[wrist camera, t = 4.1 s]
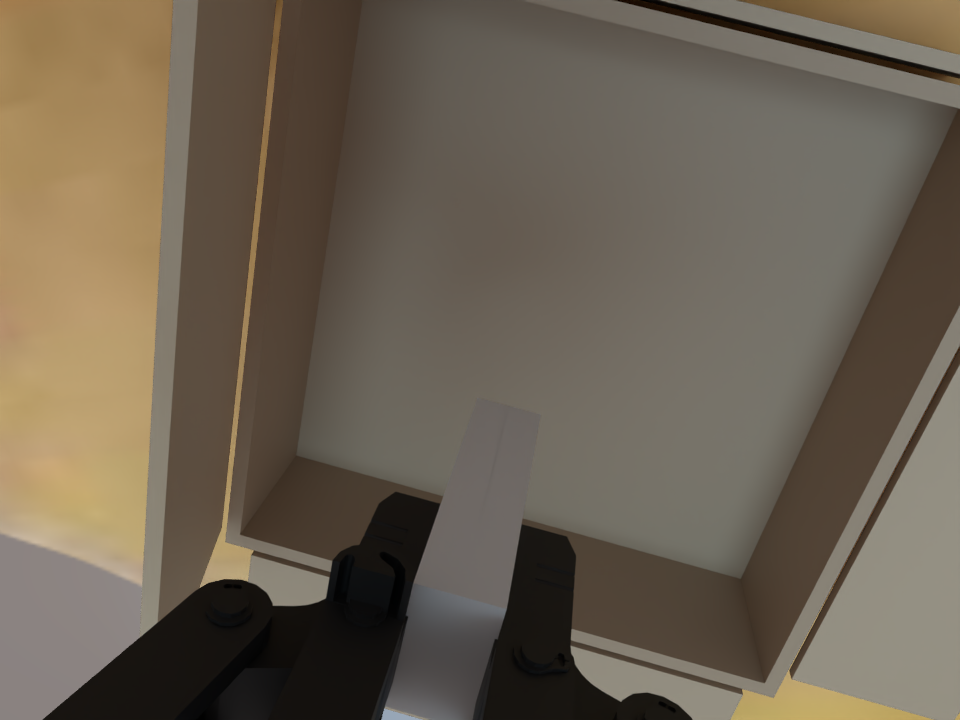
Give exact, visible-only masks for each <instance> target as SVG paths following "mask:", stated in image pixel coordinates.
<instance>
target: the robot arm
mask: <svg viewBox="0 0 960 720" xmlns="http://www.w3.org/2000/svg"><path fill="white" fill-rule="evenodd" d="M539 421H540V414H536V413H533V412H529V411H525V410H521V409H518V408H514V407H510V406H506V405H503V404H499V403H495V402H491V401H488V400H484V399H480V398H477V400H476V403H475V406H474V409H473V412H472V415H471V418H470V421H469V423H468V426H467V429H466V432H465V435H464V438H463V441H462V444H461V447H460V449H459V452H458V455H457V458H456V461H455V464H454V467H453V470H452V473H451V475H450V478H449V481H448V484H447V487H446V490H445V493H444V496H443V499H442V502H441V504H440V503H436V502H432V501H429V500H425V499H422V498H418V497H414V496H411V495H407V494H403V493H400V492H394V493H393V494H391V495H390V496H388V497H387V498H386V499H384V500H383V501H381V502H380V503H379V504H378V506H377V508H376V511H375V513H374V515H373V517H372V519H371V522H370V523H369V525H368V527H367V530H366V532H365V535H364V536H363V538H362V540H361V542H360V544H359V545H353V546H351V547H349V548H346V549H344V550H342V551H340V552H339V553H338V555H337V556H336V557H335V558H334V559H333V560H332V566H331V572H330V577H329V583H328V589H327V595H326V599H323V600H321V601H319V602H317V603H313V604H309V605H301V606H273V603H272V601H271V599H270V597H269V595H268V594H267V592H265V591H264V590H263V589H261V588H260V587H259V586H257V585H256V584H253V583H250V582H247V581H243V580H232V579H224V580H219V581H215V582H211V583H208V584H206V585H204V586H203V587H201V588H199V589H197V590H196V591H194V592H193V593H192V594H191V595H190V596H188V597H187V598H186V599H185V600H184V601H182V602H181V603H180V604H179V605H178V606H177V607H175V608H174V609H173V610H172V611H171V612H169V613H168V614H167V615H166V616H165V617H164V618H162V619H161V620H160V621H159V622H158V623H156V624H155V625H154V626H153V627H152V628H151V629H149V630H148V631H147V632H146V633H145V634H143V635H142V636H141V637H140V638H139V639H138V640H137V641H135V642H134V643H133V644H132V645H130V646H129V647H128V648H127V649H126V650H125V651H123V652H122V653H121V654H120V655H119V656H117V657H116V658H115V659H114V660H113V661H112V662H110V663H109V664H108V665H107V666H106V667H104V668H103V669H102V670H101V671H100V672H99V673H97V674H96V675H95V676H94V677H92V678H91V679H90V680H89V681H88V682H87V683H85V684H84V685H83V686H82V687H81V688H79V689H78V690H77V691H76V692H75V693H74V694H72V695H71V696H70V697H69V698H68V699H66V700H65V701H64V702H63V703H62V704H60V705H59V706H58V707H57V708H56V709H55V710H53V711H52V712H51V713H50V714H49V715H48V716H46V717H45V718H44V719H43V720H381V719H382V714H383V711H384V708H385V707H389V708H392V709H395V710H399V711H402V712H406V713H409V714H413V715H416V716H420V717H423V718H427V719H430V720H693V719H692V718H691V716H689V715H688V714H687V713H686V712H685V711H684V710H683V709H682V708H681V707H680V706H679V705H678V704H676V703H674V702H672V701H670V700H669V699H667V698H665V697H663V696H660V695H656V694H652V693H648V692H646V693H635V694H632V695H630V696H628V697H626V698H625V699H623V700H622V702H620V701H619V700H617V699H615V698H613V697H612V696H610V695H608V694H606V693H605V692H603V691H601V690H600V689H598V688H597V687H596V686H594V685H593V684H591V683H590V682H589V681H588V680H587V679H586V678H585V677H584V676H583V675H582V674H581V672H580V671H579V669H578V668H577V666H576V665H575V661H574V657H573V655H572V654H571V630H572V614H573V599H574V592H573V591H574V583H575V577H574V576H575V567H576V554H575V552H574V550H573V548H572V546H571V544H570V542H569V539H568V537H567V536H563V535H560V534H556V533H552V532H549V531H545V530H541V529H538V528H534V527H530V526H527V525H523V524H522V519H523V513H524V507H525V501H526V496H527V490H528V484H529V478H530V473H531V467H532V461H533V455H534V450H535V444H536V438H537V432H538V427H539Z"/></svg>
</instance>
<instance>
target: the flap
mask: <svg viewBox="0 0 960 720" xmlns="http://www.w3.org/2000/svg"><path fill="white" fill-rule="evenodd" d="M275 8H276V0H173V17H172V36H171V55H170V74H169V92H168V111H167V130H166V149H165V168H164V187H163V206H162V224H161V243H160V262H159V281H158V300H157V319H156V338H155V357H154V375H153V394H152V413H151V432H150V451H149V470H148V489H147V507H146V526H145V545H144V564H143V583H142V602H141V622H140V637H141V636H142V635H143V634H145V633H146V632H147V631H148V630H149V629H151V628H152V627H153V626H154V625H155V624H156V623H158V622H159V621H160V620H161V619H162V618H164V617H165V616H166V615H167V614H168V613H169V612H171V611H172V610H173V609H174V608H175V607H177V606H178V605H179V604H180V603H181V602H182V601H184V600H185V599H186V598H187V597H188V596H190V595H191V594H192V593H193V592H194V591H196V590H197V589H199V587H200V584H201V582H202V579H203V576H204V574H205V571H206V568H207V566H208V563H209V560H210V557H211V555H212V552H213V549H214V547H215V544H216V541H217V539H218V536H219V533H220V531H221V528H222V520H223V511H224V501H225V491H226V482H227V472H228V462H229V453H230V443H231V433H232V424H233V414H234V404H235V395H236V385H237V375H238V366H239V356H240V346H241V337H242V327H243V317H244V308H245V298H246V288H247V279H248V269H249V259H250V250H251V240H252V230H253V221H254V211H255V201H256V192H257V182H258V172H259V163H260V153H261V143H262V134H263V124H264V114H265V105H266V95H267V85H268V76H269V66H270V56H271V47H272V37H273V27H274V18H275Z"/></svg>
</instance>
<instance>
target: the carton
mask: <svg viewBox="0 0 960 720" xmlns="http://www.w3.org/2000/svg"><path fill="white" fill-rule="evenodd" d="M642 1H646V2H650V3H654V4H658V5H662V6H666V7H670V8H675V9H679V10H683V11H687V12H691V13H695V14H699V15H703V16H707V17H711V18H715V19H719V20H723V21H727V22H731V23H736V24H740V25H744V26H748V27H752V28H756V29H760V30H764V31H768V32H772V33H776V34H780V35H784V36H788V37H792V38H797V39H801V40H805V41H809V42H813V43H817V44H821V45H825V46H829V47H833V48H837V49H841V50H845V51H849V52H853V53H858V54H862V55H866V56H870V57H874V58H878V59H882V60H886V61H890V62H894V63H898V64H902V65H906V66H910V67H914V68H919V69H923V70H927V71H931V72H935V73H939V74H943V75H947V76H951V77H955V78H960V55H958V54H954V53H950V52H946V51H942V50H938V49H934V48H930V47H925V46H921V45H917V44H913V43H909V42H905V41H901V40H897V39H893V38H889V37H885V36H880V35H876V34H872V33H868V32H864V31H860V30H856V29H852V28H848V27H844V26H840V25H835V24H831V23H827V22H823V21H819V20H815V19H811V18H807V17H803V16H799V15H795V14H790V13H786V12H782V11H778V10H774V9H770V8H766V7H762V6H758V5H754V4H750V3H745V2H741V1H737V0H642ZM959 346H960V85H956V84H952V83H948V82H944V81H940V80H936V79H932V78H928V77H924V76H920V75H916V74H912V73H907V72H903V71H899V70H895V69H891V68H887V67H883V66H879V65H875V64H871V63H867V62H863V61H859V60H855V59H851V58H847V57H842V56H838V55H834V54H830V53H826V52H822V51H818V50H814V49H810V48H806V47H802V46H798V45H794V44H790V43H786V42H782V41H778V40H773V39H769V38H765V37H761V36H757V35H753V34H749V33H745V32H741V31H737V30H733V29H729V28H725V27H721V26H717V25H713V24H708V23H704V22H700V21H696V20H692V19H688V18H684V17H680V16H676V15H672V14H668V13H664V12H660V11H656V10H652V9H648V8H644V7H639V6H635V5H631V4H627V3H623V2H619V1H615V0H283V8H282V18H281V27H280V36H279V46H278V55H277V64H276V74H275V83H274V92H273V102H272V111H271V121H270V130H269V139H268V149H267V158H266V167H265V177H264V186H263V195H262V205H261V214H260V223H259V233H258V242H257V251H256V261H255V270H254V279H253V289H252V298H251V308H250V317H249V326H248V336H247V345H246V354H245V364H244V373H243V382H242V392H241V401H240V410H239V420H238V429H237V438H236V448H235V457H234V466H233V476H232V485H231V495H230V504H229V513H228V523H227V532H226V541H225V542H227V543H230V544H234V545H237V546H241V547H244V548H248V549H251V550H254V552H253V553H252V555H251V562H250V570H249V578H248V582H250V583H253V584H256V585H257V586H259V587H260V588H261V589H263V590H264V591H265V592H267V594H268V595H269V597H270V599H271V601H272V603H273V606H301V605H309V604H313V603H317V602H319V601H321V600H323V599H326V595H327V589H328V583H329V577H330V572H331V566H332V560H333V559H334V558H335V557H336V556H337V555H338V553H339V552H340V551H342V550H344V549H346V548H349V547H351V546H353V545H359V544H360V542H361V540H362V538H363V536H364V535H365V532H366V530H367V527H368V525H369V523H370V522H371V519H372V517H373V515H374V513H375V511H376V508H377V506H378V504H379V503H380V502H381V501H383V500H384V499H386V498H387V497H388V496H390V495H391V494H393V493H394V492H400V493H403V494H407V495H411V496H414V497H418V498H422V499H425V500H429V501H432V502H436V503H440V504H441V502H442V499H443V496H444V493H445V490H446V487H447V484H448V481H449V478H450V475H451V473H452V470H453V467H454V464H455V461H456V458H457V455H458V452H459V449H460V447H461V444H462V441H463V438H464V435H465V432H466V429H467V426H468V423H469V421H470V418H471V415H472V412H473V409H474V406H475V403H476V400H477V398H480V399H484V400H488V401H491V402H495V403H499V404H503V405H506V406H510V407H514V408H518V409H521V410H525V411H529V412H533V413H536V414H540V421H539V427H538V432H537V438H536V444H535V450H534V455H533V461H532V467H531V473H530V478H529V484H528V490H527V496H526V501H525V507H524V513H523V519H522V524H523V525H527V526H530V527H534V528H538V529H541V530H545V531H549V532H552V533H556V534H560V535H563V536H567V537H568V539H569V542H570V544H571V546H572V548H573V550H574V552H575V554H576V567H575V576H574V577H575V583H574V591H573V592H574V599H573V614H572V630H571V654H572V655H573V657H574V661H575V665H576V666H577V668H578V669H579V671H580V672H581V674H582V675H583V676H584V677H585V678H586V679H587V680H588V681H589V682H590V683H591V684H593V685H594V686H596V687H597V688H598V689H600V690H601V691H603V692H605V693H606V694H608V695H610V696H612V697H613V698H615V699H617V700H619V701H620V702H622V700H623V699H625V698H626V697H628V696H630V695H632V694H635V693H646V692H648V693H652V694H656V695H660V696H663V697H665V698H667V699H669V700H670V701H672V702H674V703H676V704H678V705H679V706H680V707H681V708H682V709H683V710H684V711H685V712H686V713H687V714H688V715H689V716H691V718H692V719H693V720H730V719H731V717H732V715H733V713H734V711H735V709H736V707H737V705H738V703H739V701H740V699H741V697H742V695H743V693H742V689H744V690H748V691H751V692H755V693H759V694H762V695H766V696H769V697H773V698H774V696H775V694H776V692H777V690H778V689H779V687H780V685H781V683H782V681H783V679H784V677H785V675H786V673H787V672H788V670H789V668H790V666H791V664H792V662H793V660H794V658H795V656H796V655H797V653H798V651H799V649H800V647H801V645H802V643H803V641H804V639H805V637H806V636H807V634H808V632H809V630H810V628H811V626H812V624H813V622H814V620H815V619H816V617H817V615H818V613H819V611H820V609H821V607H822V605H823V603H824V602H825V600H826V598H827V596H828V594H829V592H830V590H831V588H832V586H833V584H834V583H835V581H836V579H837V577H838V575H839V573H840V571H841V569H842V567H843V566H844V564H845V562H846V560H847V558H848V556H849V554H850V552H851V550H852V548H853V547H854V545H855V543H856V541H857V539H858V537H859V535H860V533H861V531H862V530H863V528H864V526H865V524H866V522H867V520H868V518H869V516H870V514H871V513H872V511H873V509H874V507H875V505H876V503H877V501H878V499H879V497H880V495H881V494H882V492H883V490H884V488H885V486H886V484H887V482H888V480H889V478H890V477H891V475H892V473H893V471H894V469H895V467H896V465H897V463H898V461H899V460H900V458H901V456H902V454H903V452H904V450H905V448H906V446H907V444H908V442H909V441H910V439H911V437H912V435H913V433H914V431H915V429H916V427H917V425H918V424H919V422H920V420H921V418H922V416H923V414H924V412H925V410H926V408H927V406H928V405H929V403H930V401H931V399H932V397H933V395H934V393H935V391H936V389H937V388H938V386H939V384H940V382H941V380H942V378H943V376H944V374H945V372H946V371H947V369H948V367H949V365H950V363H951V361H952V359H953V357H954V355H955V353H956V352H957V350H958V348H959ZM789 671H790V675H791V678H792V679H793V680H796V681H800V682H803V683H807V684H810V685H814V686H818V687H821V688H825V689H828V690H832V691H835V692H839V693H842V694H846V695H849V696H853V697H856V698H860V699H864V700H867V701H871V702H874V703H878V704H881V705H885V706H888V707H892V708H895V709H899V710H902V711H906V712H910V713H913V714H917V715H920V716H924V717H927V718H931V719H934V720H955V718H956V717H957V715H958V714H959V712H960V349H959V351H958V353H957V355H956V356H955V358H954V360H953V362H952V364H951V366H950V368H949V370H948V372H947V373H946V375H945V377H944V379H943V381H942V383H941V385H940V387H939V389H938V390H937V392H936V394H935V396H934V398H933V400H932V402H931V404H930V406H929V407H928V409H927V411H926V413H925V415H924V417H923V419H922V421H921V423H920V424H919V426H918V428H917V430H916V432H915V434H914V436H913V438H912V440H911V441H910V443H909V445H908V447H907V449H906V451H905V453H904V455H903V457H902V458H901V460H900V462H899V464H898V466H897V468H896V470H895V472H894V474H893V475H892V477H891V479H890V481H889V483H888V485H887V487H886V489H885V491H884V493H883V494H882V496H881V498H880V500H879V502H878V504H877V506H876V508H875V510H874V511H873V513H872V515H871V517H870V519H869V521H868V523H867V525H866V527H865V528H864V530H863V532H862V534H861V536H860V538H859V540H858V542H857V544H856V545H855V547H854V549H853V551H852V553H851V555H850V557H849V559H848V561H847V562H846V564H845V566H844V568H843V570H842V572H841V574H840V576H839V578H838V579H837V581H836V583H835V585H834V587H833V589H832V591H831V593H830V595H829V596H828V598H827V600H826V602H825V604H824V606H823V608H822V610H821V612H820V613H819V615H818V617H817V619H816V621H815V623H814V625H813V627H812V629H811V630H810V632H809V634H808V636H807V638H806V640H805V642H804V644H803V646H802V647H801V649H800V651H799V653H798V655H797V657H796V659H795V661H794V663H793V664H792V666H791V668H790V670H789ZM385 709H388V710H392V711H395V712H398V713H402V714H406V715H409V716H412V717H416V718H419V719H423V720H430V719H427V718H423V717H420V716H416V715H413V714H409V713H406V712H402V711H399V710H395V709H392V708H389V707H385Z"/></svg>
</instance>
